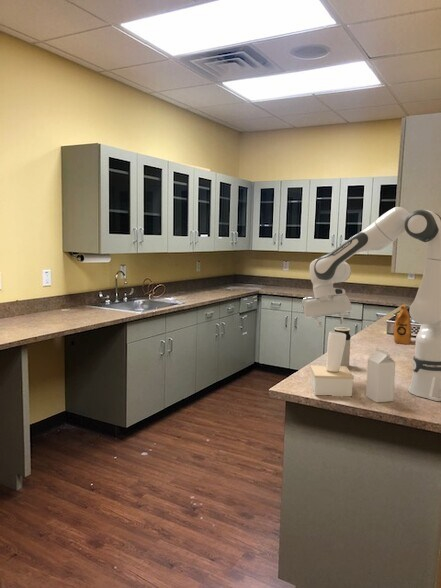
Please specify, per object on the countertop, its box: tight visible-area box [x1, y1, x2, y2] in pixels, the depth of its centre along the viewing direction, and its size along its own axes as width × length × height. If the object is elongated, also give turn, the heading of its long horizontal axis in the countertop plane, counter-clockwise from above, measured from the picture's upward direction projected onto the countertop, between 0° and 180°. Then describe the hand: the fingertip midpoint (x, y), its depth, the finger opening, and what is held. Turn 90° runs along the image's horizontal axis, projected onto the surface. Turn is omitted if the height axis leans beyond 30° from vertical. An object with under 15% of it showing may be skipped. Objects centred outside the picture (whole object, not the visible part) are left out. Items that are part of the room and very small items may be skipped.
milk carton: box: [365, 347, 396, 404], centre depth 175 cm, size 7×7×19 cm
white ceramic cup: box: [325, 331, 346, 372], centre depth 183 cm, size 7×7×15 cm
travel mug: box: [333, 326, 351, 368], centre depth 221 cm, size 8×8×18 cm
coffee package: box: [393, 303, 412, 345], centre depth 273 cm, size 10×12×22 cm
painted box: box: [309, 364, 355, 397], centre depth 185 cm, size 15×15×8 cm
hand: (330, 325), depth 201 cm, fingers open, 8 cm apart
